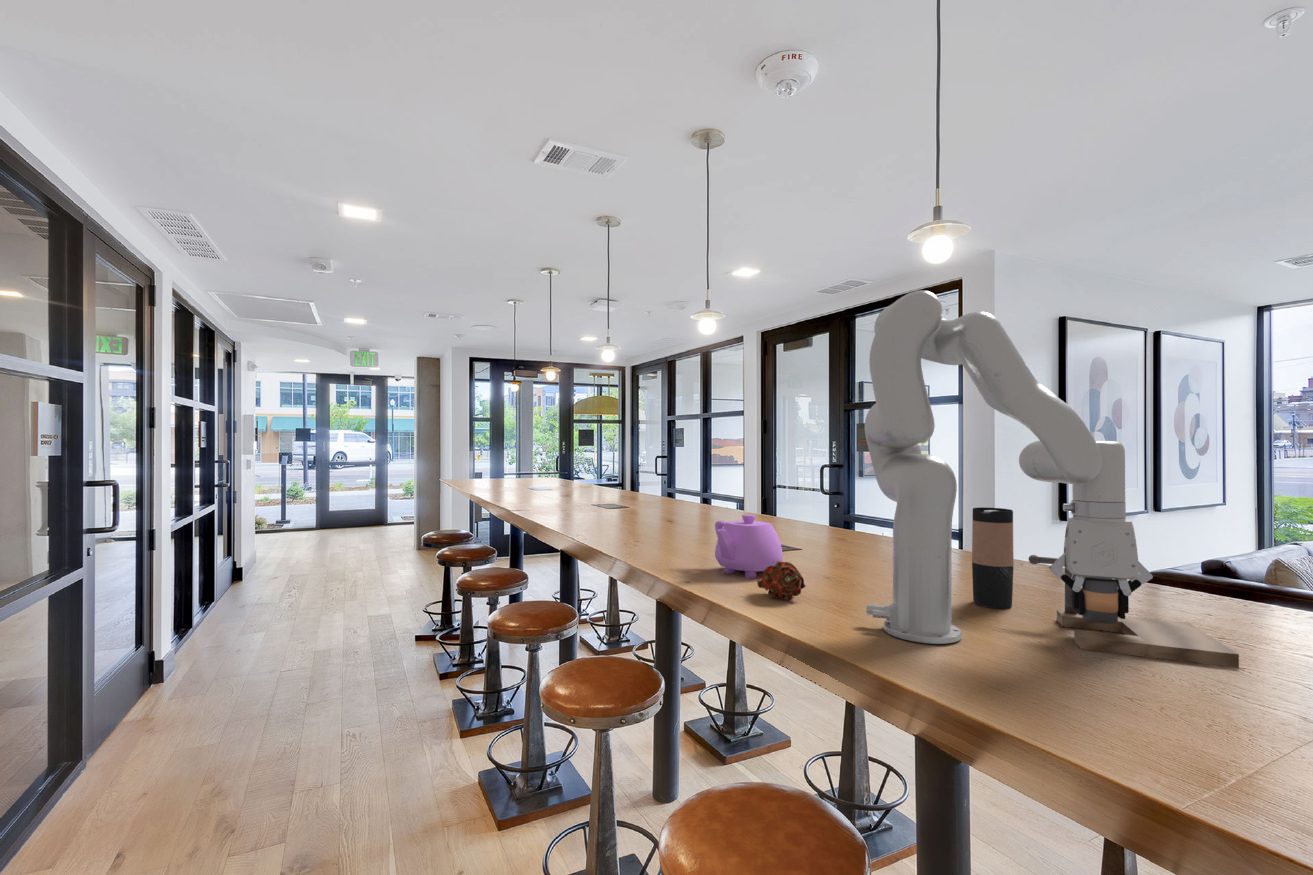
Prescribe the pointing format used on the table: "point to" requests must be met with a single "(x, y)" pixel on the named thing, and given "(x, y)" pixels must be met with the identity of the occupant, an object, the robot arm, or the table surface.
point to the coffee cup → (1100, 600)
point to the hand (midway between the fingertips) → (1099, 613)
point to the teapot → (747, 546)
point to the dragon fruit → (782, 580)
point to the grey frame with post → (1143, 635)
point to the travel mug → (992, 557)
